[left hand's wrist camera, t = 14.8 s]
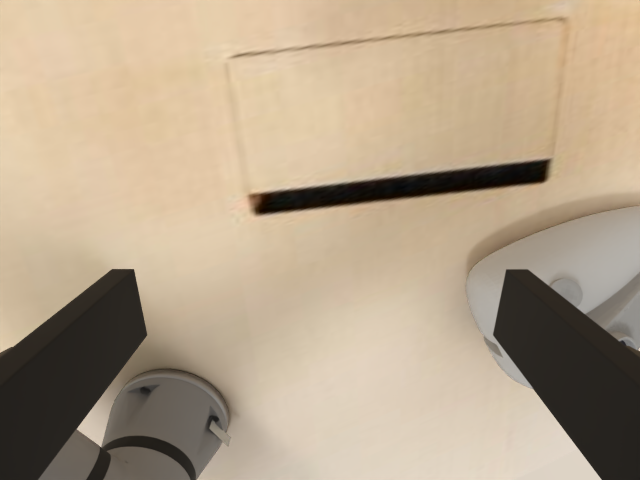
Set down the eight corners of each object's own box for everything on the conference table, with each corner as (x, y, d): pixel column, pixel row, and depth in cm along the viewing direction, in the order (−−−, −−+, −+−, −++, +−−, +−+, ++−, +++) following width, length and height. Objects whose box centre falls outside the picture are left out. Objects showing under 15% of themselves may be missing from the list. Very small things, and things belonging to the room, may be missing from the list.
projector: (593, 370, 47) (706, 480, 33) (427, 338, 45) (473, 440, 31) (690, 212, 39) (888, 268, 26) (494, 166, 38) (594, 201, 24)
